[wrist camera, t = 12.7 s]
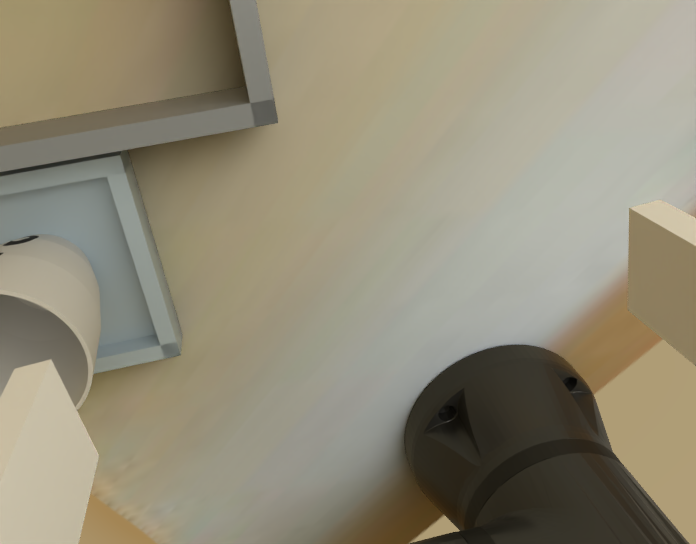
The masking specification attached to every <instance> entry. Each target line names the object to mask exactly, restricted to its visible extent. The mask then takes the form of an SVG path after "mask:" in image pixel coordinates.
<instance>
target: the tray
mask: <svg viewBox="0 0 696 544" xmlns="http://www.w3.org/2000/svg"><path fill="white" fill-rule="evenodd" d="M36 234H48V235H54V236H58V237H61V238H64V239H66V240H68V241H70V242H72V243H73V244H75V245H76V246H77V247H78V248H80V249H81V250H82V251H83V253H84V254H85V255H86V257H87V258H88V260H89V262H90V264H91V267H92V269H93V272H94V274H95V277H96V280H97V282H98V286H99V292H100V316H101V333H100V339H99V345H98V350H97V356H96V362H95V367H94V373H93V374H95V373H100V372H105V371H109V370H114V369H119V368H123V367H128V366H133V365H137V364H142V363H147V362H151V361H156V360H161V359H165V358H170V357H175V356H179V355H181V345H182V332H181V328H180V325H179V322H178V318H177V315H176V312H175V308H174V305H173V301H172V298H171V295H170V291H169V288H168V285H167V281H166V278H165V275H164V271H163V268H162V264H161V261H160V258H159V254H158V251H157V248H156V244H155V241H154V237H153V234H152V231H151V227H150V224H149V221H148V217H147V214H146V211H145V207H144V204H143V200H142V197H141V194H140V190H139V187H138V184H137V180H136V177H135V173H134V170H133V167H132V163H131V160H130V157H129V153H128V150H122V151H117V152H111V153H105V154H100V155H94V156H88V157H83V158H77V159H71V160H66V161H60V162H55V163H49V164H43V165H38V166H32V167H26V168H21V169H15V170H9V171H4V172H0V245H1V244H3V243H6V242H9V241H12V240H16V239H19V238H23V237H26V236H30V235H36Z"/></svg>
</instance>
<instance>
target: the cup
mask: <svg viewBox="0 0 696 544" xmlns="http://www.w3.org/2000/svg"><path fill="white" fill-rule="evenodd" d="M100 333H101V316H100V292H99V286H98V282H97V280H96V277H95V274H94V272H93V269H92V267H91V264H90V262H89V260H88V258H87V257H86V255H85V254H84V253H83V251H82V250H81V249H80V248H78V247H77V246H76V245H75V244H73V243H72V242H70V241H68V240H66V239H64V238H61V237H58V236H54V235H48V234H36V235H30V236H26V237H23V238H19V239H16V240H12V241H9V242H6V243H3V244H1V245H0V397H1V395H2V393H3V391H4V389H5V387H6V385H7V383H8V381H9V379H10V377H11V375H12V373H13V371H14V369H16V368H20V367H23V366H27V365H31V364H35V363H39V362H43V361H46V360H50V359H51V360H52V362H53V364H54V366H55V368H56V370H57V372H58V374H59V376H60V378H61V380H62V382H63V384H64V386H65V388H66V390H67V392H68V394H69V396H70V398H71V400H72V402H73V404H74V406H75V408H76V410H77V411H78V409H79V408H80V407H81V406H82V404H83V403H84V401H85V399H86V398H87V396H88V393H89V391H90V388H91V384H92V379H93V373H94V367H95V362H96V356H97V350H98V345H99V339H100Z"/></svg>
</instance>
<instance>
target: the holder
mask: <svg viewBox="0 0 696 544" xmlns="http://www.w3.org/2000/svg"><path fill="white" fill-rule="evenodd" d="M228 1H229V6H230V11H231V16H232V21H233V26H234V31H235V36H236V41H237V46H238V51H239V56H240V61H241V66H242V71H243V76H244V81H245V87H239V88H233V89H227V90H221V91H215V92H209V93H204V94H198V95H192V96H186V97H180V98H174V99H168V100H162V101H156V102H150V103H145V104H139V105H133V106H127V107H121V108H115V109H109V110H103V111H97V112H91V113H86V114H80V115H74V116H68V117H62V118H56V119H50V120H44V121H38V122H32V123H27V124H21V125H15V126H9V127H3V128H0V172H4V171H9V170H15V169H21V168H26V167H32V166H38V165H43V164H49V163H55V162H60V161H66V160H71V159H77V158H83V157H88V156H94V155H100V154H105V153H111V152H117V151H122V150H128V149H134V148H139V147H145V146H151V145H156V144H162V143H168V142H173V141H179V140H185V139H190V138H196V137H201V136H207V135H213V134H218V133H224V132H230V131H235V130H241V129H247V128H252V127H258V126H264V125H269V124H275V123H278V118H277V113H276V107H275V102H274V96H273V91H272V85H271V80H270V74H269V69H268V63H267V58H266V52H265V47H264V41H263V36H262V30H261V25H260V19H259V14H258V8H257V3H256V0H228Z"/></svg>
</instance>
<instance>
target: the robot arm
mask: <svg viewBox="0 0 696 544" xmlns="http://www.w3.org/2000/svg"><path fill="white" fill-rule="evenodd" d="M628 311H630V312H631V313H632V314H633V315H634V316H636V317H637V318H638V319H639V320H641V321H642V322H643V323H644V324H645V325H647V326H648V327H649V328H650V329H651V330H653V331H654V332H655V333H656V334H658V335H659V336H660V337H661V338H662V339H664V340H665V341H666V342H667V343H668V344H670V345H671V346H672V347H673V348H675V349H676V350H677V351H678V352H680V353H681V354H682V355H683V356H684V357H685V358H687V359H688V360H689V361H690V362H692V363H693V364H694V365H695V366H696V218H695V217H693V216H691V215H689V214H687V213H685V212H683V211H681V210H679V209H677V208H675V207H673V206H671V205H669V204H668V203H666V202H664V201H662V200H658V201H654V202H650V203H646V204H642V205H639V206H635V207H631V208H629V259H628ZM405 450H406V455H407V459H408V461H409V464H410V466H411V469H412V472H413V474H414V477H415V479H416V481H417V483H418V485H419V486H420V488H421V489H422V491H423V492H424V494H425V495H426V496H427V497H428V498H429V499H430V500H431V501H432V502H433V503H434V504H435V506H436V507H437V508H438V509H439V510H440V511H441V512H442V513H443V514H444V515H445V516H446V517H447V518H448V519H449V520H450V521H451V522H452V523H453V524H454V525H455V526H456V527H457V528H458V529H459V530H460V531H459V532H453V533H449V534H445V535H441V536H437V537H433V538H429V539H425V540H422V541H417V542H413V543H409V544H689V543H688V542H687V540H686V539H685V538H684V537H683V536H682V534H681V533H680V532H679V531H678V530H677V529H676V527H675V526H674V525H673V524H672V522H671V521H670V520H669V519H668V518H667V517H666V515H665V514H664V513H663V512H662V511H661V510H660V508H659V507H658V506H657V505H656V503H655V502H654V501H653V500H652V499H651V497H650V496H649V495H648V494H647V493H646V491H645V490H644V489H643V488H642V487H641V485H640V484H639V483H638V482H637V481H636V480H635V478H634V477H633V476H632V475H631V473H630V472H629V471H628V470H627V469H626V468H625V467H624V465H623V464H622V463H621V462H620V461H619V459H618V458H617V457H616V455H615V454H614V453H613V452H612V448H611V445H610V442H609V439H608V436H607V433H606V430H605V427H604V424H603V421H602V418H601V415H600V412H599V409H598V406H597V403H596V400H595V397H594V395H593V393H592V391H591V390H590V388H589V386H588V385H587V383H586V382H585V381H584V380H583V378H582V377H581V376H580V375H579V374H578V373H577V372H576V371H575V369H574V368H573V367H572V366H571V365H570V364H569V363H568V362H567V361H566V360H564V359H563V358H562V357H560V356H559V355H557V354H555V353H553V352H551V351H549V350H546V349H543V348H539V347H535V346H529V345H507V346H500V347H495V348H491V349H487V350H484V351H480V352H478V353H475V354H473V355H471V356H468V357H466V358H464V359H462V360H461V361H459V362H457V363H455V364H454V365H452V366H451V367H449V368H448V369H446V370H445V371H444V372H443V373H441V374H440V375H439V376H438V377H437V378H436V379H435V380H434V381H433V382H432V383H431V384H430V385H429V386H428V387H427V388H426V389H425V390H424V392H423V393H422V394H421V396H420V397H419V399H418V400H417V402H416V404H415V405H414V407H413V409H412V411H411V414H410V416H409V419H408V422H407V426H406V431H405ZM98 459H99V455H98V453H97V451H96V449H95V447H94V445H93V443H92V441H91V439H90V436H89V434H88V432H87V430H86V428H85V426H84V424H83V422H82V420H81V418H80V416H79V414H78V412H77V410H76V408H75V406H74V404H73V402H72V400H71V398H70V396H69V394H68V392H67V390H66V388H65V386H64V384H63V382H62V380H61V378H60V376H59V374H58V372H57V370H56V368H55V366H54V364H53V362H52V360H51V359H50V360H46V361H43V362H39V363H35V364H31V365H27V366H23V367H20V368H16V369H14V371H13V373H12V375H11V377H10V379H9V381H8V383H7V385H6V387H5V389H4V391H3V393H2V395H1V397H0V544H79V539H80V535H81V531H82V526H83V522H84V518H85V514H86V510H87V505H88V501H89V496H90V493H91V488H92V484H93V480H94V476H95V471H96V467H97V463H98Z"/></svg>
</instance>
